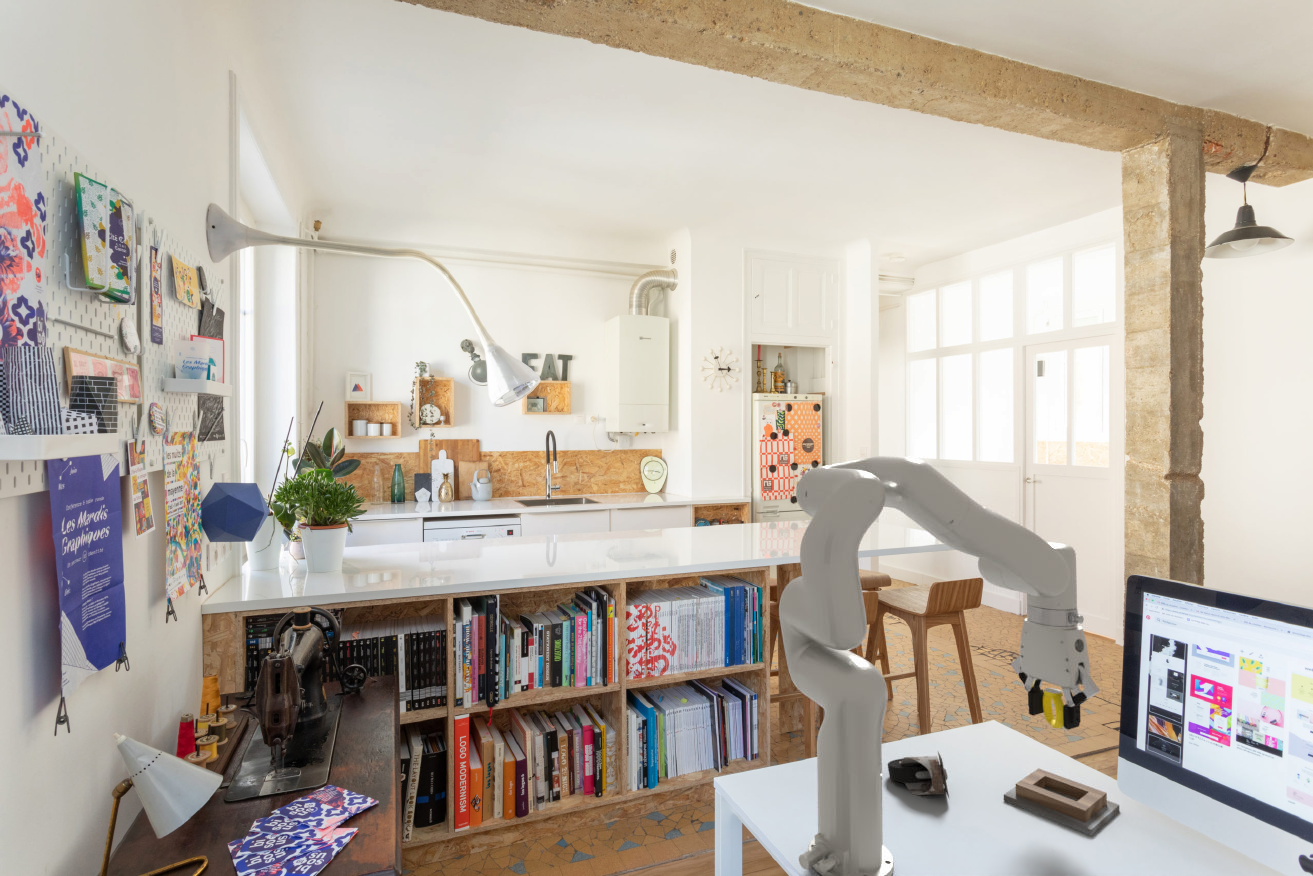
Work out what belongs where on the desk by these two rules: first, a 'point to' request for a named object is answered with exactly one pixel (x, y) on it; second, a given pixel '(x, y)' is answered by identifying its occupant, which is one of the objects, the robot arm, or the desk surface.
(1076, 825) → the frame
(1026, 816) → the desk surface
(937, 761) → the caster wheel
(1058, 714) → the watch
